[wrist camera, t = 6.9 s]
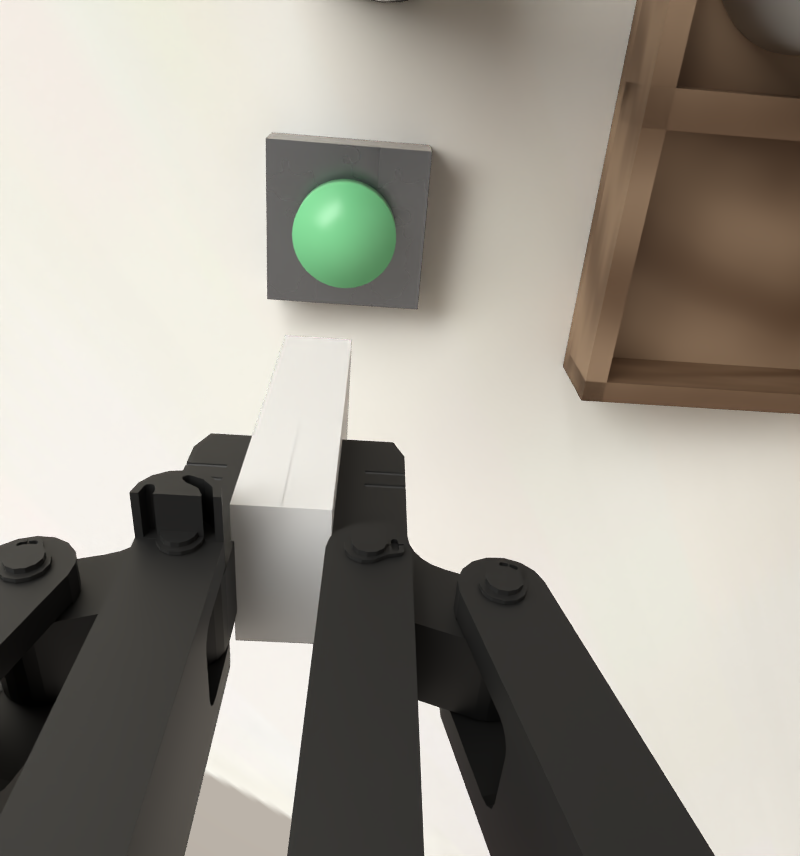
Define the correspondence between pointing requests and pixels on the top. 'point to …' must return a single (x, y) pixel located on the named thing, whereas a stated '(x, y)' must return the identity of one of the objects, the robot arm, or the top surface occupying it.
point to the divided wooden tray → (695, 223)
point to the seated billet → (768, 23)
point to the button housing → (357, 160)
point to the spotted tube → (390, 0)
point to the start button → (344, 233)
